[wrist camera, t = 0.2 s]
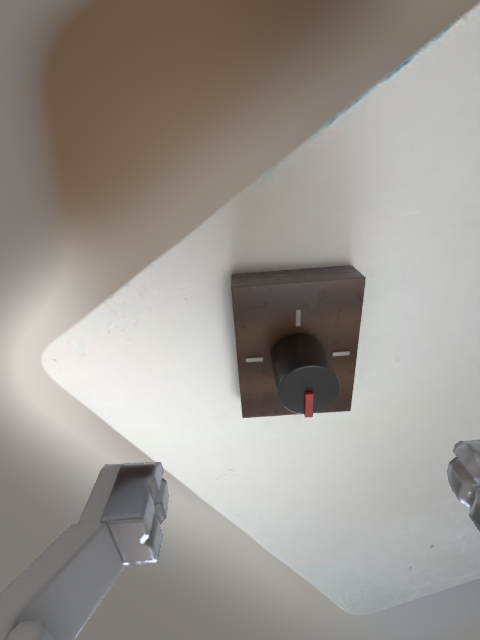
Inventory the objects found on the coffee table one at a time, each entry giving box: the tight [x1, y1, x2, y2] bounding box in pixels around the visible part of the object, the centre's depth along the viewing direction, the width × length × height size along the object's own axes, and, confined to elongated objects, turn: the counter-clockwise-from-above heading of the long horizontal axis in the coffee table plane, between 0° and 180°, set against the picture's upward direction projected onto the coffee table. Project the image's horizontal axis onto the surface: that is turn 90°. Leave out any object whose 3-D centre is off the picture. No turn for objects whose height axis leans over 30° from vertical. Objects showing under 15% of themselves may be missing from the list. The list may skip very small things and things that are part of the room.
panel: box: [231, 266, 365, 418], centre depth 28 cm, size 13×10×3 cm
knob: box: [271, 334, 340, 417], centre depth 25 cm, size 4×4×5 cm
